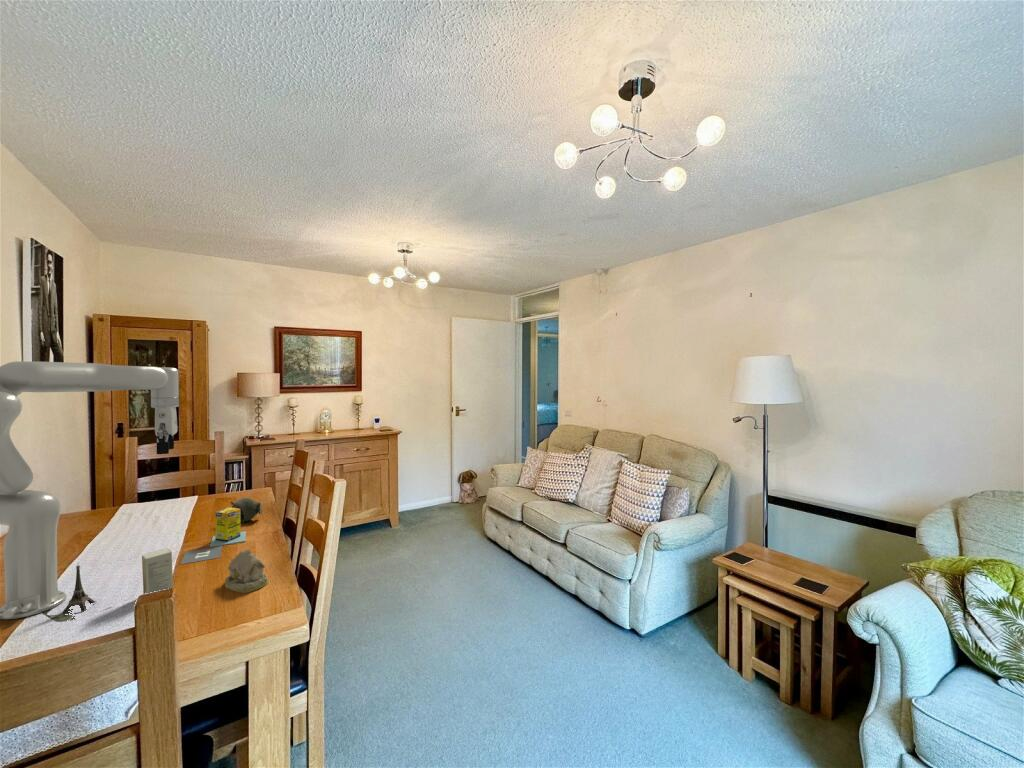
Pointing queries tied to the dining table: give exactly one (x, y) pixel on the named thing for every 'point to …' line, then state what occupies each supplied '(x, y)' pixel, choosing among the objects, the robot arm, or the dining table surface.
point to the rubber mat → (236, 540)
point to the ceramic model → (246, 573)
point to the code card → (202, 555)
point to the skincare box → (157, 571)
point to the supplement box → (227, 524)
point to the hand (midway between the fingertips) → (165, 451)
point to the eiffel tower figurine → (73, 601)
